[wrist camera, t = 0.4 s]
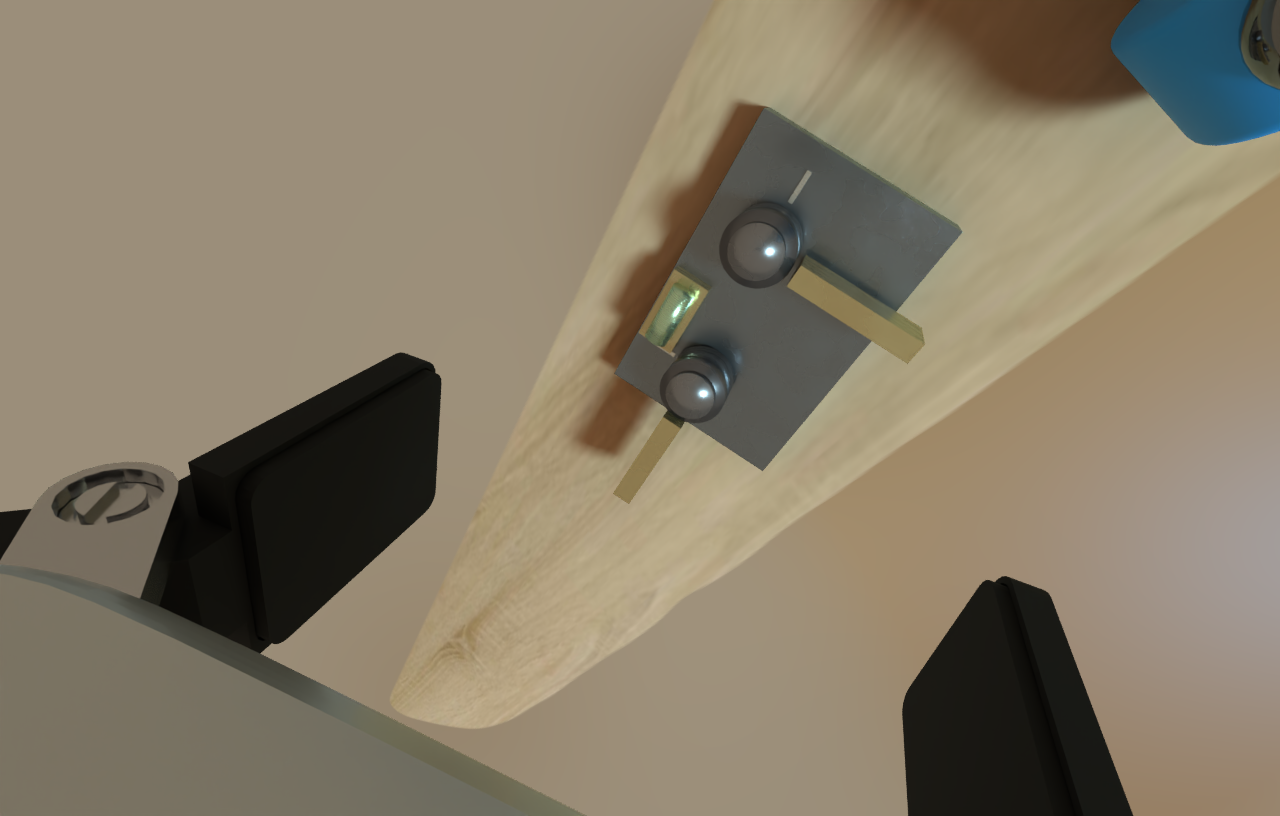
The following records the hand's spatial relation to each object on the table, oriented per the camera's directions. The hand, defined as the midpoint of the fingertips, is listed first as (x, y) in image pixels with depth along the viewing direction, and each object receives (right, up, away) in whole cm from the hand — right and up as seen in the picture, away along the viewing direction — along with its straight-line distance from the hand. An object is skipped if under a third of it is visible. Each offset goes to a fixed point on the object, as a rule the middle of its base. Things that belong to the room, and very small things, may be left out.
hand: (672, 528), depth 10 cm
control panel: (+8, +9, +31) cm, 33 cm away
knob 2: (+11, +10, +27) cm, 30 cm away
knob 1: (+2, +1, +34) cm, 35 cm away
